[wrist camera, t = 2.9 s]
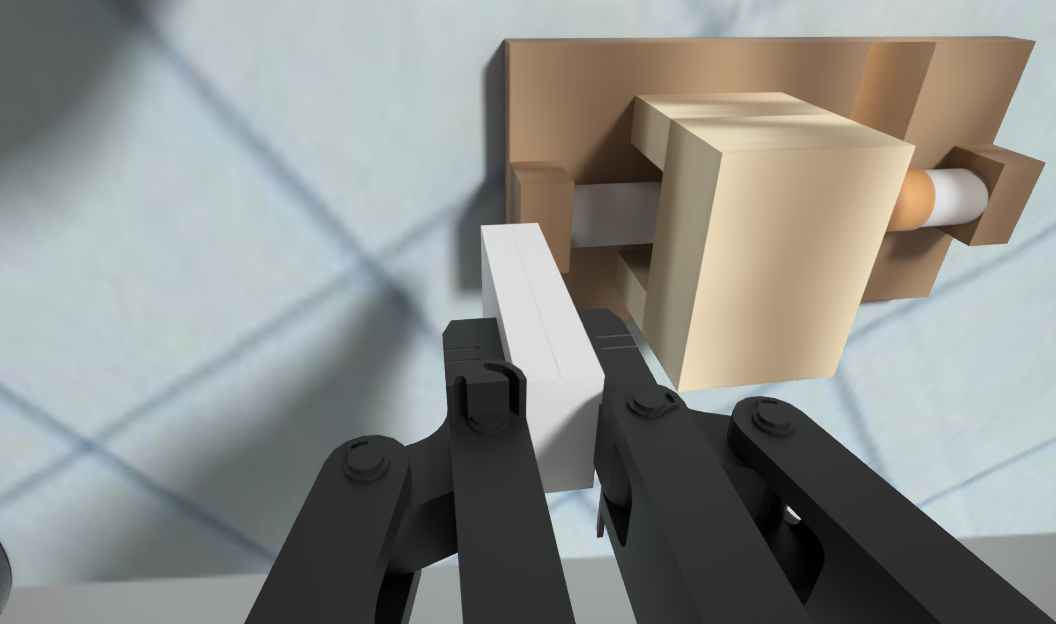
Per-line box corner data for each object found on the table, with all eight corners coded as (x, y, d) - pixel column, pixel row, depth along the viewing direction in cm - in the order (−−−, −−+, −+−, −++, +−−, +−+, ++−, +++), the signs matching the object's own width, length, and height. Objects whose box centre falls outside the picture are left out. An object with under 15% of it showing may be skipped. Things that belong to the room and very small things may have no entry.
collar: (615, 288, 23) (677, 392, 17) (635, 94, 19) (722, 153, 14) (738, 279, 23) (833, 376, 18) (781, 92, 20) (916, 145, 14)
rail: (505, 314, 24) (519, 366, 21) (504, 38, 19) (523, 57, 16) (908, 283, 27) (970, 325, 24) (1006, 36, 21) (1102, 51, 18)
